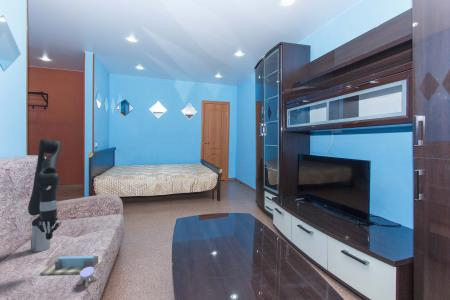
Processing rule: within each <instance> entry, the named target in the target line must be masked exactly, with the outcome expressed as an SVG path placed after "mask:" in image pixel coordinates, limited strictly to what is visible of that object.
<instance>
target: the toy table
mask: <svg viewBox="0 0 450 300" xmlns="http://www.w3.org/2000/svg"><path fill="white" fill-rule="evenodd" d="M94 273H95V270H94V268H93V267H86V268H84V269H83V270H82V271H81V272H80V274H79V280H78V281H77V282H76V286H78V285H82V284H83V283H84V281H85V284H84V285H85V288H88V286H89V279H90V281H91V282H94V281H98V277H97V276H96V275H94Z"/></svg>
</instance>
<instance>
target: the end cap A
mask: <svg viewBox="0 0 450 300" xmlns="http://www.w3.org/2000/svg"><path fill="white" fill-rule="evenodd" d="M54 263H55V269H60V268H61V261H58V260H57V261H54Z"/></svg>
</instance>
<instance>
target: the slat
mask: <svg viewBox="0 0 450 300" xmlns="http://www.w3.org/2000/svg"><path fill="white" fill-rule="evenodd" d="M95 256H96V255H70V256H66V255H65V256H62V255H61V256H59V257H58V258H57V261H61V267H84V261H85V260H93V259H94V258H95Z"/></svg>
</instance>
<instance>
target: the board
mask: <svg viewBox="0 0 450 300" xmlns="http://www.w3.org/2000/svg"><path fill="white" fill-rule="evenodd" d="M103 261H104V260H103V259H98V264H97V265H96V266H95V267H94V271H96V270H97V268H99V267H100V266H101V265H102V264H103ZM83 269H84V267H61V268H60V269H55V262H53V263H52V264H51V265H49V266H48V267H46V268H45V269H43V270H42V271H40V273H39V275H40V276H46V275H47V276H49V275H50V274H58V275H80V272H81V271H82V270H83Z"/></svg>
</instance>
